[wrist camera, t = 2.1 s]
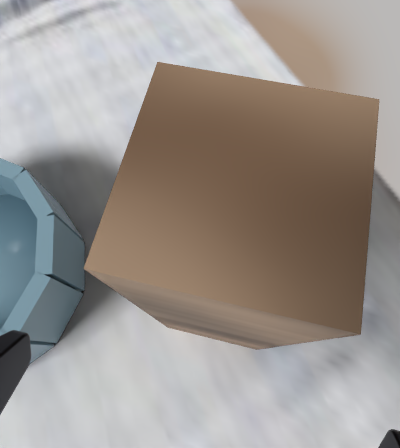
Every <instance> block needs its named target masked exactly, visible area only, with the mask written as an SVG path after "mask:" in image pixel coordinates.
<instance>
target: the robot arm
mask: <svg viewBox="0 0 400 448" xmlns="http://www.w3.org/2000/svg"><path fill="white" fill-rule="evenodd" d="M30 361H31V344H30V336H29V334H28V333H25V332H22V331H18V330H12V331H9V332H7V333H5V334H3V335H1V336H0V414H1V413H2V411H3V409H4V407H5V406H6V404H7V402H8V401H9V399H10V397H11V395H12V394H13V392H14V390H15V388H16V387H17V385H18V383H19V382H20V380H21V378H22V376H23V375H24V373H25V371H26V369H27V368H28V366H29V364H30ZM378 448H400V431H398V430H394V429H391V430H389V431H388V432H387V434H386V436H385V437H384V439H383V441H382V442H381V444H380V446H379V447H378Z"/></svg>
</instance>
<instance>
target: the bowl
mask: <svg viewBox="0 0 400 448" xmlns="http://www.w3.org/2000/svg"><path fill="white" fill-rule="evenodd" d="M84 266H85V243H84V242H83V238H82V236H81V235H80V233H79V232H78V230H77V229H76V227H75V226H74V224H73V223H72V221H71V220H70V218H69V217H68V215H67V214H66V212H65V211H64V209H63V208H62V206H61V205H60V204H59V203H58V202H57V201H56V200H55V199H54V197H53V196H52V195H51V194H50V193H49V192H48V191H47V190H46V189H45V188H44V187H43V186H42V185H41V184H40V183H39V182H38V181H37V180H36V179H35V178H34V177H33V176H32V175H31V174H30V173H29V172H28V171H27V170H26V169H25V168H23V167H21V166H18V165H16V164H13V163H11V162H8V161H6V160H4V159H1V158H0V336H1V335H3V334H5V333H7V332H9V331H12V330H18V331H22V332H25V333H28V334H29V336H30V344H31V361H30V363H31V362H33V361H34V360H36V359H37V358H38V357H40V356H41V355H43V354H44V353H45V352H47V351H48V350H50V349H51V348H52V347H54V344H53V343H57V342H58V341H59V339H60V337H61V335H62V333H63V331H64V330H65V328H66V326H67V324H68V322H69V320H70V318H71V317H72V315H73V313H74V311H75V309H76V307H77V305H78V304H79V302H80V300H81V298H82V296H83V293H81V291H85V270H84Z"/></svg>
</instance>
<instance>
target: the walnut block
mask: <svg viewBox="0 0 400 448" xmlns="http://www.w3.org/2000/svg"><path fill="white" fill-rule="evenodd" d="M378 110H379V99H374V98H368V97H362V96H356V95H350V94H344V93H338V92H333V91H326V90H320V89H315V88H309V87H303V86H297V85H291V84H285V83H279V82H273V81H267V80H261V79H256V78H250V77H244V76H238V75H232V74H226V73H220V72H214V71H208V70H202V69H196V68H190V67H184V66H178V65H173V64H167V63H161V62H157V65H156V68H155V71H154V73H153V76H152V79H151V82H150V84H149V87H148V90H147V93H146V96H145V98H144V101H143V104H142V107H141V110H140V112H139V115H138V118H137V121H136V124H135V126H134V129H133V132H132V135H131V137H130V140H129V143H128V146H127V149H126V151H125V154H124V157H123V160H122V163H121V165H120V168H119V171H118V174H117V176H116V179H115V182H114V185H113V188H112V190H111V193H110V196H109V199H108V202H107V204H106V207H105V210H104V213H103V216H102V218H101V221H100V224H99V227H98V229H97V232H96V235H95V238H94V241H93V243H92V246H91V249H90V252H89V255H88V257H87V260H86V263H85V266H84V270H86V271H87V272H89V273H90V274H92V275H93V276H95V277H96V278H97V279H99V280H100V281H102V282H103V283H105V284H106V285H107V286H109V287H110V288H112V289H113V290H115V291H116V292H118V293H119V294H120V295H122V296H123V297H125V298H126V299H128V300H129V301H130V302H132V303H133V304H135V305H136V306H138V307H139V308H140V309H142V310H143V311H145V312H146V313H148V314H149V315H151V316H152V317H153V318H155V319H156V320H158V321H159V322H161V323H162V324H163V325H165V326H166V327H168V328H172V329H176V330H180V331H184V332H188V333H192V334H196V335H200V336H204V337H208V338H212V339H216V340H220V341H224V342H228V343H233V344H237V345H241V346H245V347H249V348H253V349H264V348H271V347H278V346H285V345H292V344H299V343H306V342H313V341H320V340H326V339H333V338H340V337H347V336H354V335H361V325H362V313H363V300H364V288H365V275H366V262H367V250H368V237H369V224H370V212H371V199H372V186H373V174H374V161H375V147H376V136H377V122H378Z"/></svg>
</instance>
